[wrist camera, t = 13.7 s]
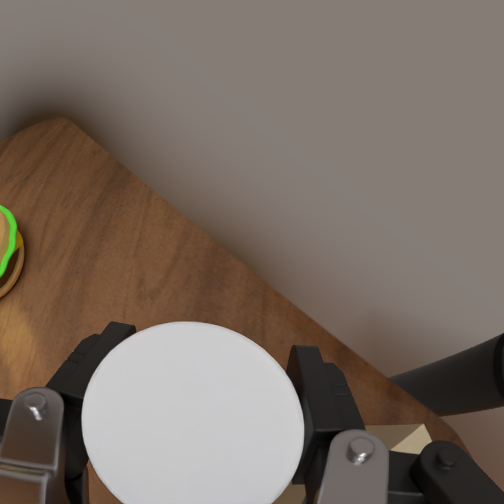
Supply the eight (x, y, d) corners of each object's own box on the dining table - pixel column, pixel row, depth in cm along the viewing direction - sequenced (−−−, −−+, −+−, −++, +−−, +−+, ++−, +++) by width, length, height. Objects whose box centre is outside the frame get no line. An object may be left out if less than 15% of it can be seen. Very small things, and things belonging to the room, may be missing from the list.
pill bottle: (273, 376, 13) (342, 321, 6) (256, 478, 11) (306, 556, 3) (166, 355, 13) (101, 274, 6) (145, 455, 11) (49, 497, 3)
